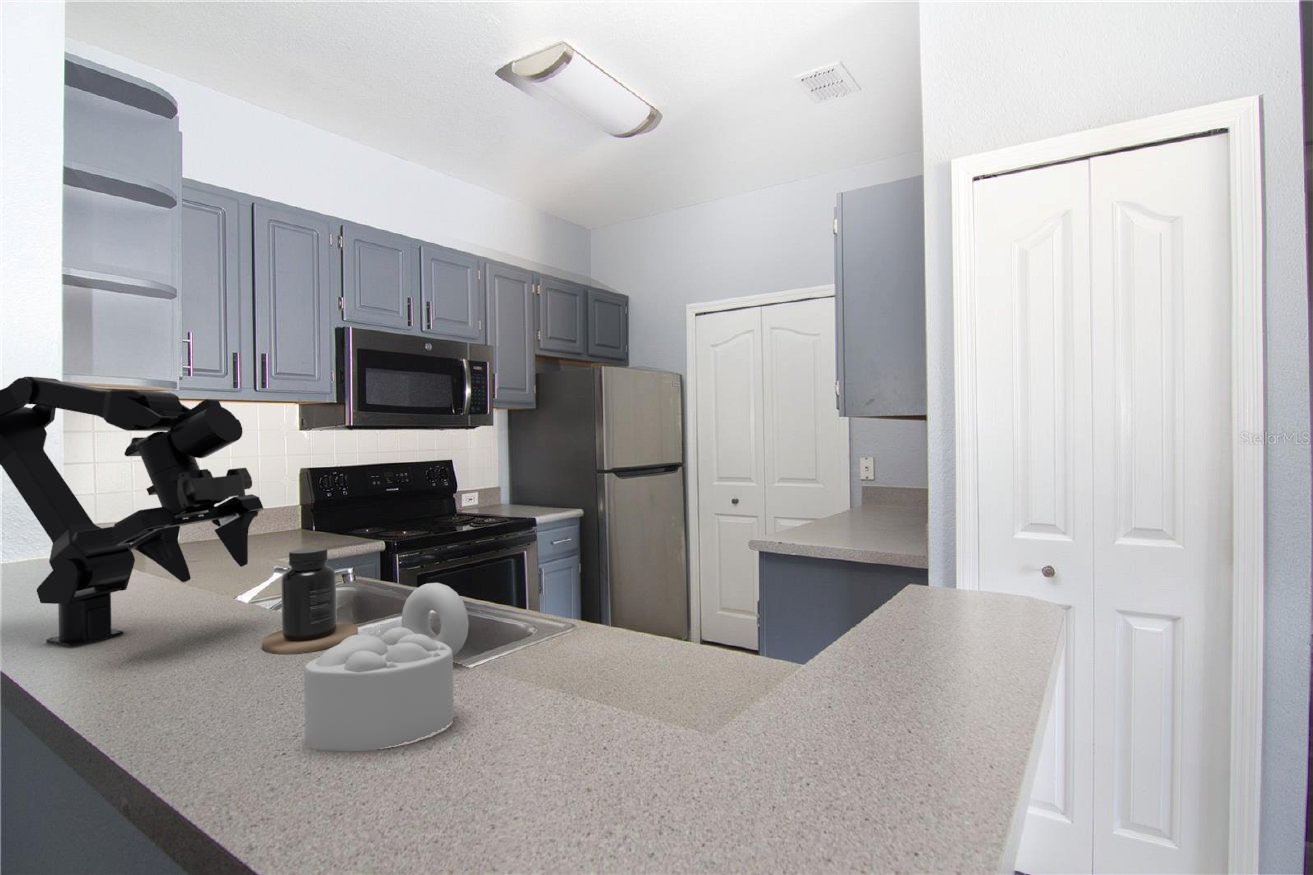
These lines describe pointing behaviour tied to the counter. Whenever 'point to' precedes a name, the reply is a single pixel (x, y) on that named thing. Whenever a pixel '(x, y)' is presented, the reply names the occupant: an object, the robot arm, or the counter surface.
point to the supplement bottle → (308, 596)
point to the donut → (445, 607)
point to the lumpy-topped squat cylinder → (378, 691)
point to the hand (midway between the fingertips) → (217, 572)
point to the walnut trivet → (307, 641)
